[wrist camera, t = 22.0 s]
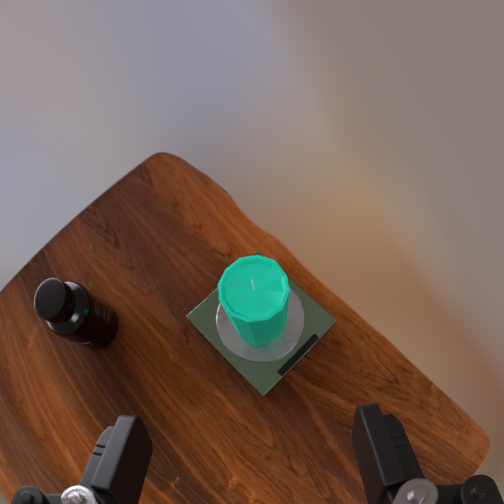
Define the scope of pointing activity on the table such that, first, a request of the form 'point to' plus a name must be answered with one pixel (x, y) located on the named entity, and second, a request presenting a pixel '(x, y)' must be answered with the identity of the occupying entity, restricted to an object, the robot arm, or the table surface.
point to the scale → (265, 355)
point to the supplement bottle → (76, 313)
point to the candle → (255, 298)
